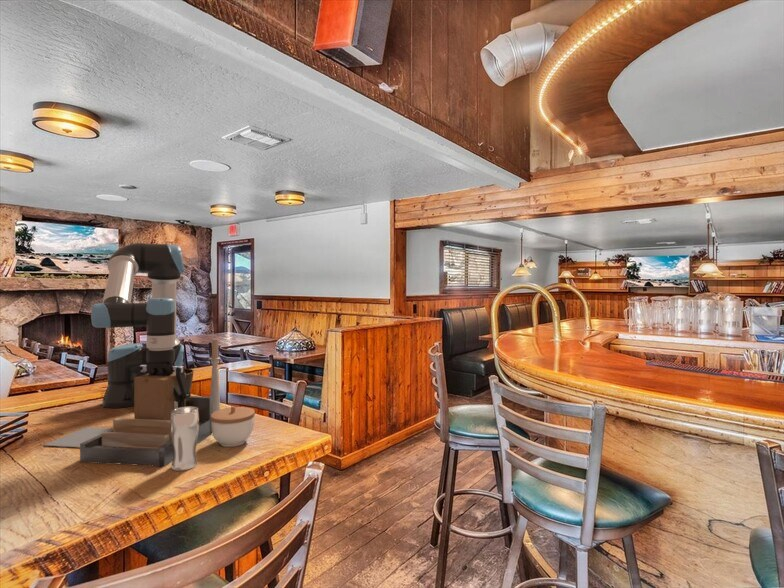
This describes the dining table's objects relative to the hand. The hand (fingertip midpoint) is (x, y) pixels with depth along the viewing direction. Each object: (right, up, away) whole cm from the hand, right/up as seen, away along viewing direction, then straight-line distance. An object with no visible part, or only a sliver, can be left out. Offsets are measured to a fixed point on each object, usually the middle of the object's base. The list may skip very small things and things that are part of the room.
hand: (160, 420), depth 125 cm
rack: (0, -7, -4) cm, 8 cm away
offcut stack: (-1, -7, -10) cm, 12 cm away
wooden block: (0, -6, 0) cm, 6 cm away
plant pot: (-10, -6, +24) cm, 27 cm away
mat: (-24, -6, +2) cm, 25 cm away
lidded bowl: (+22, -7, 0) cm, 23 cm away
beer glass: (+16, -7, -16) cm, 24 cm away
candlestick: (+9, -6, +16) cm, 20 cm away
